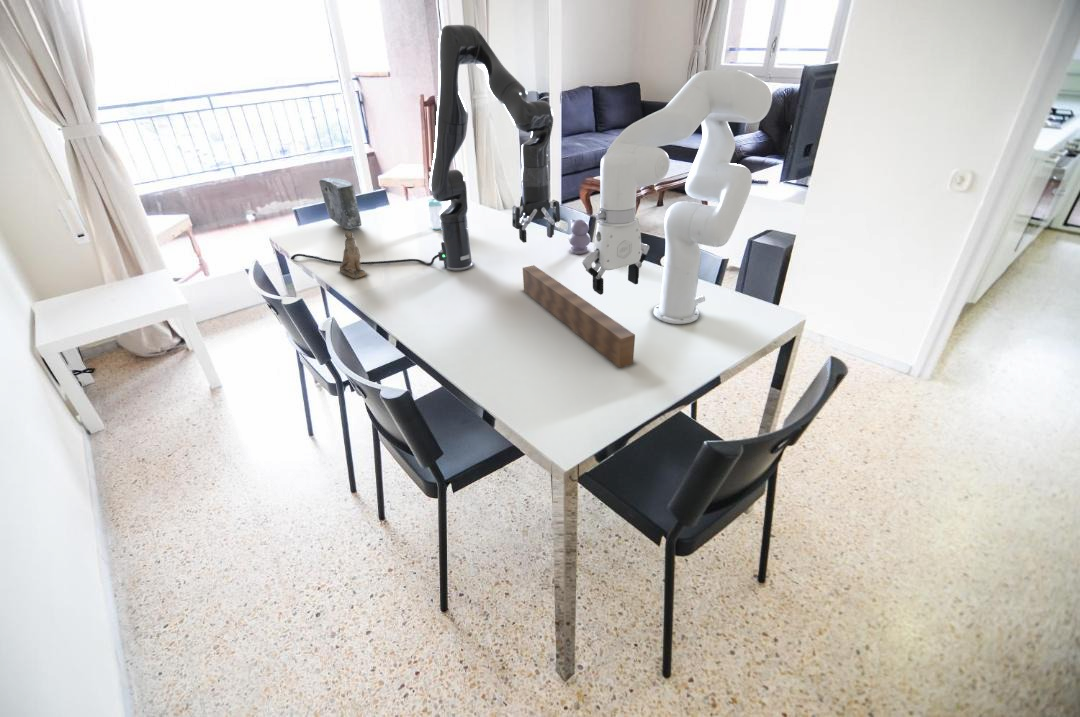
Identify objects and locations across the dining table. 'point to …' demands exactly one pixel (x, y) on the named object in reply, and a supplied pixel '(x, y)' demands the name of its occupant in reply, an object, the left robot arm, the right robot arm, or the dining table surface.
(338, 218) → the concrete block
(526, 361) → the dining table surface
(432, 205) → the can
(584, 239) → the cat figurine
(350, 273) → the brown carved statuette
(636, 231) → the right robot arm
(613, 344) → the post
